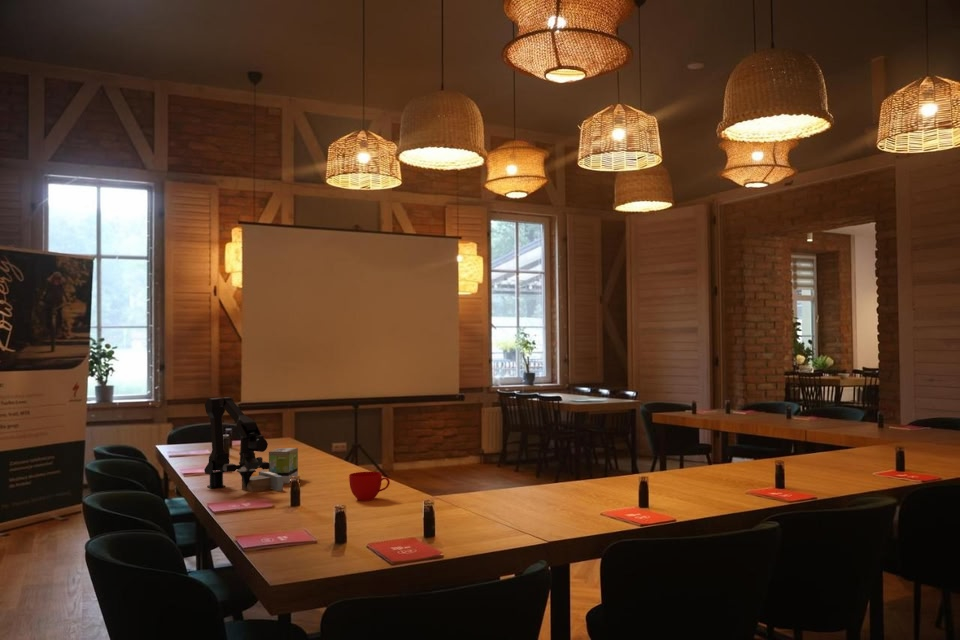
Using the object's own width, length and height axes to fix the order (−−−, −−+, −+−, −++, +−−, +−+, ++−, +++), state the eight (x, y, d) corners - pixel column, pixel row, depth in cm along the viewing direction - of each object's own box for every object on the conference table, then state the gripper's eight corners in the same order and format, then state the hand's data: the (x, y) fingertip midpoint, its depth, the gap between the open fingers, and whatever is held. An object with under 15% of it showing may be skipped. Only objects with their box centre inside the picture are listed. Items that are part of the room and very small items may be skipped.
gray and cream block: (258, 484, 344) (258, 470, 345) (264, 484, 346) (264, 470, 346) (277, 491, 327) (277, 476, 327) (283, 490, 328) (283, 475, 329)
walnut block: (241, 489, 333) (241, 478, 333) (260, 486, 340) (260, 475, 340) (251, 491, 327) (251, 480, 327) (270, 489, 333) (270, 477, 333)
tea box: (289, 483, 346) (289, 451, 347) (267, 484, 346) (267, 451, 347) (298, 478, 361) (298, 446, 362) (277, 478, 361) (277, 447, 362)
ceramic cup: (382, 503, 294) (381, 477, 295) (343, 501, 300) (343, 476, 300) (396, 497, 306) (396, 472, 307) (359, 495, 312) (358, 471, 312)
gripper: (231, 453, 316) (230, 491, 315) (275, 450, 327) (273, 487, 326) (223, 450, 325) (221, 487, 324) (265, 448, 336) (264, 484, 335)
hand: (246, 486), depth 327 cm, fingers closed
